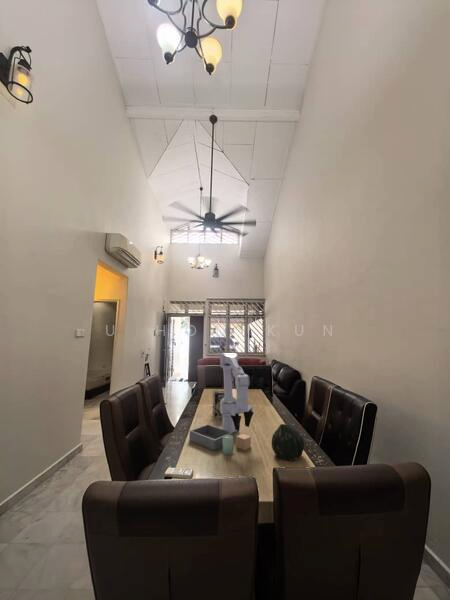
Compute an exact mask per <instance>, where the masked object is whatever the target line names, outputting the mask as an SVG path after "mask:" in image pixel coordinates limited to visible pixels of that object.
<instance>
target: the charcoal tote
mask: <svg viewBox="0 0 450 600" xmlns="http://www.w3.org/2000/svg"><path fill="white" fill-rule="evenodd" d="M224 435H232V436H233V433H232V432H229V431H226V430H223V429H222V428H221V427H218V426H215V425H212V424H205V425H202V426H199V427H196V428H194V429H191V430H189V442H191V443H193V444H195V445H198V446H200V447H203V448H206V449H207V450H210V451H212V452H217V451H218V450H220V449H222V447H223V436H224Z"/></svg>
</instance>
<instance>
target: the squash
mask: <svg viewBox="0 0 450 600" xmlns="http://www.w3.org/2000/svg"><path fill="white" fill-rule="evenodd" d="M271 448H272V450H273V452H274V455H276V456H277V457H278V458H280V459H281V458H282V460H284V461H288V460H290V461H291V462H292V461H295V460H296V459H298V458H300V457H302V455H303V452H304V449H305V441H304V439H303V436H302V435H301V434H300V432H298V430H297V429H296V428H294V427H292V426H290V425H288V424H285V423H281V424H280V425H279V426H278V427H277V428H276V430H275V431H274V433H273V434H272V437H271Z"/></svg>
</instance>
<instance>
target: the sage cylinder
mask: <svg viewBox="0 0 450 600" xmlns="http://www.w3.org/2000/svg"><path fill="white" fill-rule="evenodd" d="M221 449H222V455H225V456H230V455H233V453H234V435H233V434H232V435H224V436H223V447H222V448H221Z"/></svg>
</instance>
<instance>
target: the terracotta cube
mask: <svg viewBox="0 0 450 600" xmlns="http://www.w3.org/2000/svg"><path fill="white" fill-rule="evenodd" d="M251 438H252V436H250V435H247V434H245V433H241V434H239V435H237V436H236V448H238V449H240V450H244V451H246V450H247V449H249V448H251V446H252V445H251V444H252V443H251V442H252V439H251Z"/></svg>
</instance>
